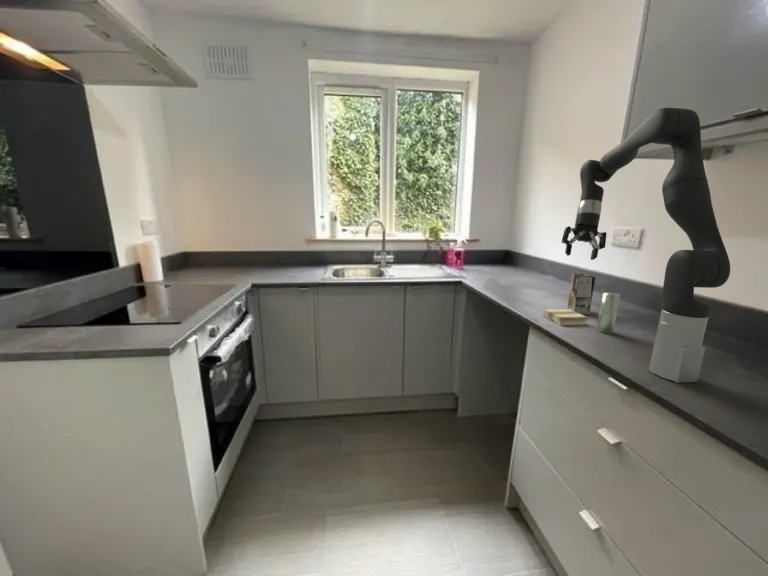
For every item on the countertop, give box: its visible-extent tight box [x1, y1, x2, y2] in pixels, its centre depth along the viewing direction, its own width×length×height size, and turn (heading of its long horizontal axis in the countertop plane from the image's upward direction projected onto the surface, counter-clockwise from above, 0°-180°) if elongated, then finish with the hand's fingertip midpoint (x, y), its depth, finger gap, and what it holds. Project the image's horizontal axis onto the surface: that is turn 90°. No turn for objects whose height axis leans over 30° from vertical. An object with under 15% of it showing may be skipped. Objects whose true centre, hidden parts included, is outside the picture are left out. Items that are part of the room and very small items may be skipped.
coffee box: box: [567, 272, 596, 315], centre depth 149 cm, size 9×6×16 cm
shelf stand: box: [542, 308, 589, 326], centre depth 137 cm, size 11×11×3 cm
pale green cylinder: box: [595, 291, 621, 335], centre depth 124 cm, size 5×5×14 cm
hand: (580, 257), depth 128 cm, fingers open, 8 cm apart
